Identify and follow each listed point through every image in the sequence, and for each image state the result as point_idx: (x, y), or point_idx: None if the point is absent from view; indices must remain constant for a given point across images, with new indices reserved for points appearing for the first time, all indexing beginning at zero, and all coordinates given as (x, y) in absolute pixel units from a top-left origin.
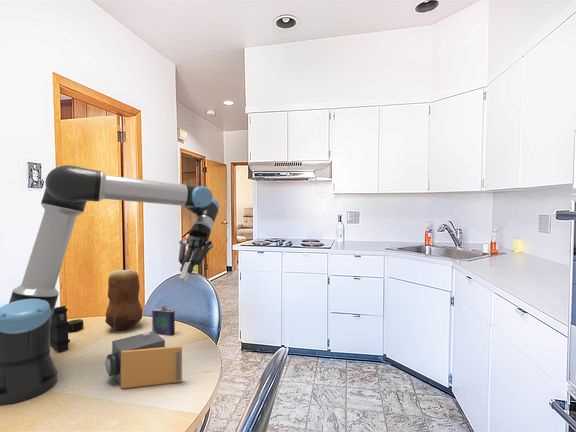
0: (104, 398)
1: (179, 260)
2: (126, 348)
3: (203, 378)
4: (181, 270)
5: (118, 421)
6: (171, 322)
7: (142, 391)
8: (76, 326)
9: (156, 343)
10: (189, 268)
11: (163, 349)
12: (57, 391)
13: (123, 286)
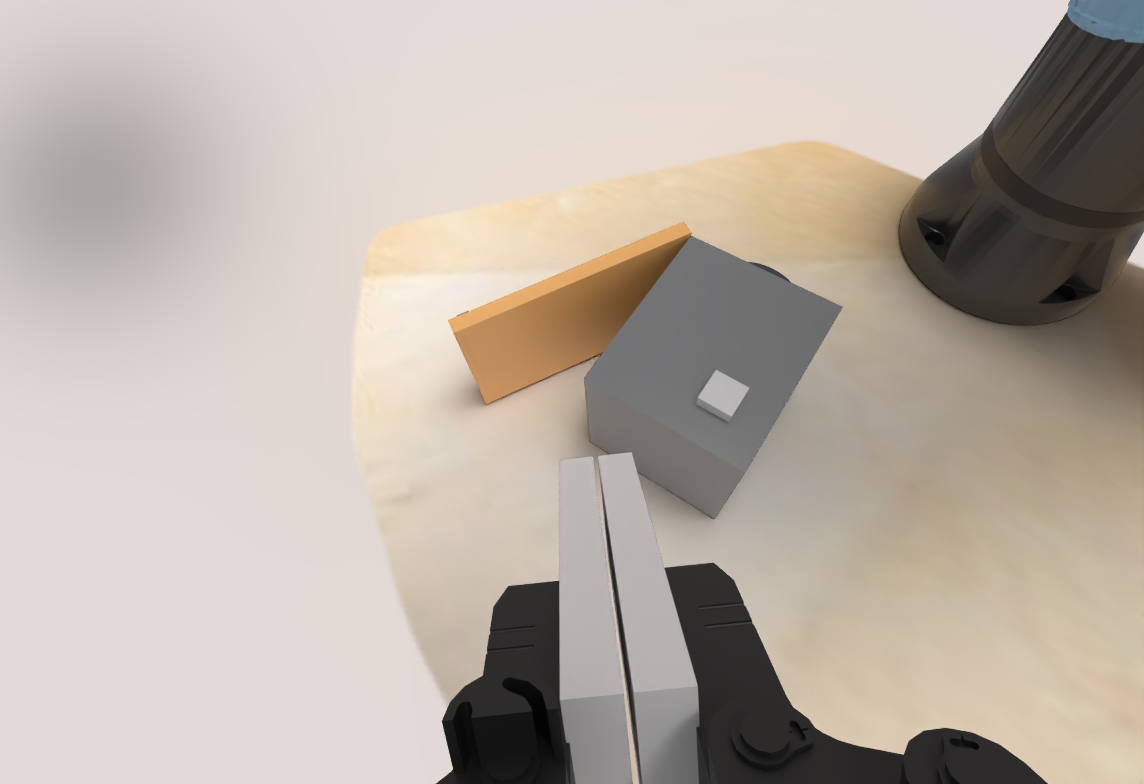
0: None
1: (950, 732)
2: (700, 263)
3: (410, 439)
4: (691, 569)
5: (557, 208)
6: None
7: None
8: None
9: (608, 348)
10: (536, 626)
11: (525, 291)
12: (867, 260)
13: None
